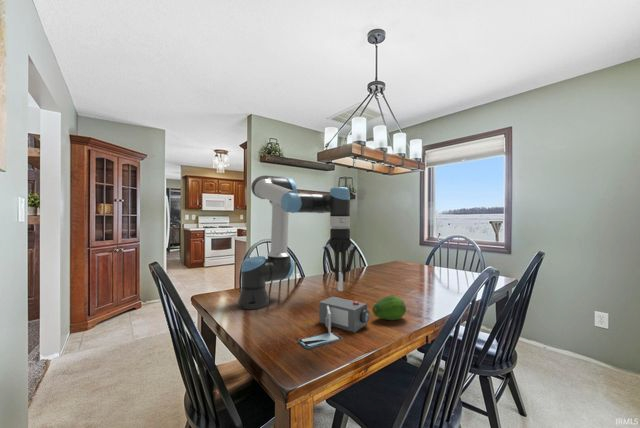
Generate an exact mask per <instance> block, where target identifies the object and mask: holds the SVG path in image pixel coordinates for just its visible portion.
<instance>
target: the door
mask: <svg viewBox="0 0 640 428" xmlns="http://www.w3.org/2000/svg"><path fill="white" fill-rule="evenodd" d="M325 328H327V331H328V332H329V333H331V332H332V326H331V313H330V309H329V305H327V317H326V324H325ZM328 332H327V333H328Z"/></svg>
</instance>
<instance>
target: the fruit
mask: <svg viewBox="0 0 640 428" xmlns="http://www.w3.org/2000/svg"><path fill="white" fill-rule="evenodd" d="M371 310H372V314H374V316H375V317H377V318H379V319H383V320H387V321H397V320H400V319H401V318H403V317H404V315H405V314H406V312H407V307H406V304H405V302H404V301H403V300H402V299H401V298H400V297H398V296H395V295H389V296H385V297H383V298H381V299H380V300H379V301H377V302H376V303H375V304H374V305H373V306H372V308H371Z"/></svg>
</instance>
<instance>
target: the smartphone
mask: <svg viewBox="0 0 640 428" xmlns="http://www.w3.org/2000/svg"><path fill="white" fill-rule="evenodd" d="M342 340H343V337H341V336H340V335H339V334H337V333H335V332H334V331H331V333H329V332H324V333H320V334H316V335H312V336H307V337H302V338H298V339H297V342H298V343H299V345H301V346H302V347H303V348H304V349H306V350H312V349H315V348H319V347H322V346H326V345H330V344H334V343H336V342H340V341H342Z"/></svg>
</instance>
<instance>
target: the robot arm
mask: <svg viewBox="0 0 640 428" xmlns="http://www.w3.org/2000/svg"><path fill="white" fill-rule="evenodd" d="M250 188H251V193H252V194H253V195H254V196H255V197H257V198H258V199H260V200H268V201H269V204H270V205H271V229H270V230H271V231H270V232H271V236H270V237H271V238H270V251H269V253H267V258H266V256H262V255H260V256H252V257H247V258H245V259H244V260H242V261H241V269H240V271H241V291H240V294H239V298H238V300H237V307H238V308H239V309H243V310H259V309H262V308H266V307H268V306H269V304H270V299H269V295H268V292H267V288H266V283H267V282H275V281H283V280H286V279H289V278H290V277H292V275H293V273H294V271H295V270H294V269H295V262H294V259H293V258H292V257H291V254H290V253H289V252H288V239H289V237H288V235H289V234H288V233H289V215H290V214H289V213H292V214H294V213H295V214H297V213H304V214H305V213H314V214H315V213H316V214H326V213H327V214H328V213H329V214H330V215H329V218H330V219H329V220H330V221H329V222H330V223H329V227H330V229H329V231H330V232H329V234H330V235H329V238H330V239H329V241H328V244H327V245H324V246H323V250H324V252H325V254H326V259H327V262H328V267H329V270H330V271H331V272H332V273H334V281H335V282H336V283H337V291H338V292H343V291H344V282H346V280H347V279H346V274H347V273H348V272H350V271H351V268H352V264H353V261H354V256H355V252H356V250H357V249H358V247H357V246H356V245H354V244H353V243H352V241H351V229H350V228H351V217H350V216H351V196H350V195H351V193H350V188H349V187H344V186H334V187H331V188H330V190H329V193H324V194H323V193H321V194H320V193H306V192H305V193H304V192H298V190H297V189H298V188H297V184H296V182H295V180H294V179H293V178H291V177H285V176H275V175H274V176H273V175H261V176H258V177H256V178H255V179H254V180H253V181H252V183H251V187H250ZM331 249H332V251H333V252H334V263H333V260H332V259H333V258H332V254H331V251H330V250H331ZM348 250H349V252H348V257H347V259H346V256H347V251H348ZM340 257H341V258H340ZM346 260H347V261H346ZM340 261H341V262H340ZM340 263H341V264H340ZM340 265H341V266H340ZM340 267H341V269H340Z"/></svg>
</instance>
